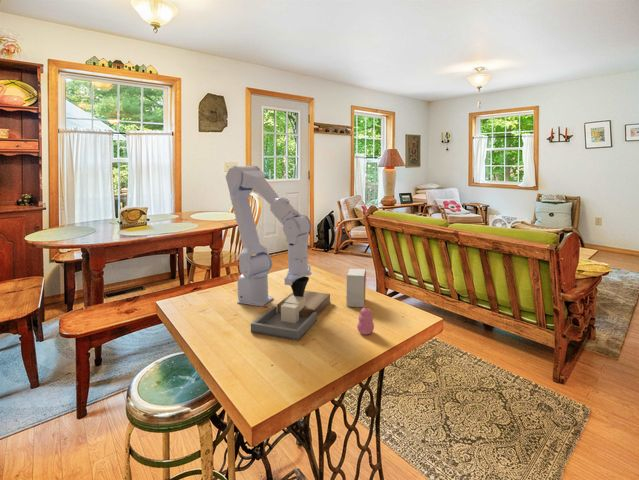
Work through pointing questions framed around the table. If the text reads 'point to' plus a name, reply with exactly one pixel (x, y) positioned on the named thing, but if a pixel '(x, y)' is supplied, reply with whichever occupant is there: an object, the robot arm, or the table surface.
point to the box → (282, 325)
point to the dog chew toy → (365, 322)
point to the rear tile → (296, 301)
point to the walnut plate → (310, 303)
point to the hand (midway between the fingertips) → (298, 300)
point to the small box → (356, 287)
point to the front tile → (290, 313)
